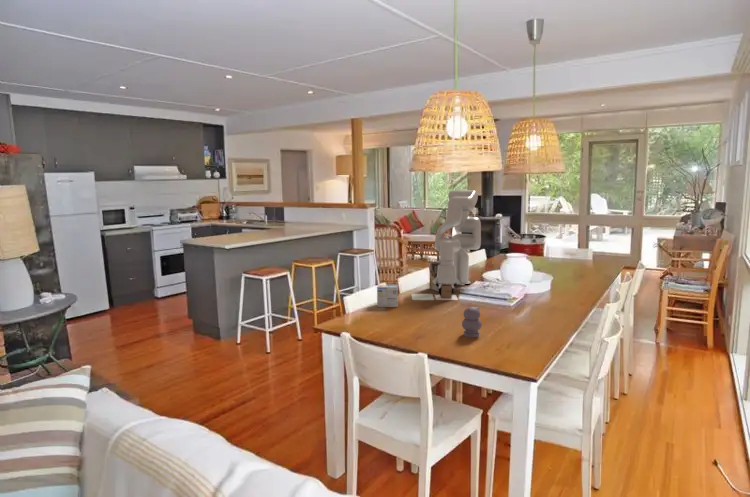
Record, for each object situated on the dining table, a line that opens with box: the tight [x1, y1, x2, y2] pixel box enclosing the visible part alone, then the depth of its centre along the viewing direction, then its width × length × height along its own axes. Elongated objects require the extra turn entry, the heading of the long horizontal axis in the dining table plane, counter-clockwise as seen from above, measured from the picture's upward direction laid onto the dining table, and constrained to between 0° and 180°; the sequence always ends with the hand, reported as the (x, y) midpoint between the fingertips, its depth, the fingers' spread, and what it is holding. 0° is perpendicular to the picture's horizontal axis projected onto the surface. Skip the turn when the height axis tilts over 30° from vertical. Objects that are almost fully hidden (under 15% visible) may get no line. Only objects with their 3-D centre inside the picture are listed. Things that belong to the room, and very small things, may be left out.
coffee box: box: [429, 261, 440, 292], centre depth 275 cm, size 9×6×16 cm
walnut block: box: [441, 284, 453, 298], centre depth 256 cm, size 6×6×7 cm
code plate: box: [434, 294, 459, 301], centre depth 256 cm, size 12×12×1 cm
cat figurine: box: [461, 306, 483, 338], centre depth 192 cm, size 8×8×12 cm
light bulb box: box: [376, 283, 399, 308], centre depth 239 cm, size 11×7×11 cm, turn 84°
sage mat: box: [410, 293, 435, 301], centre depth 257 cm, size 14×12×1 cm
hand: (446, 294), depth 256 cm, fingers closed on walnut block, 5 cm apart
